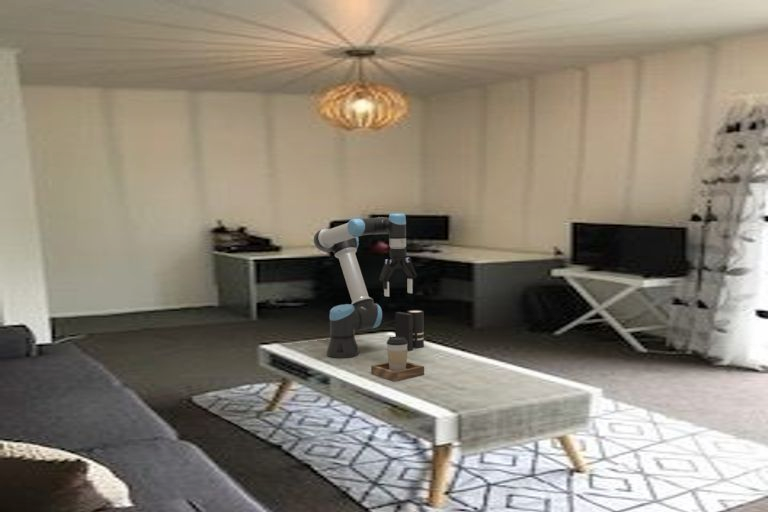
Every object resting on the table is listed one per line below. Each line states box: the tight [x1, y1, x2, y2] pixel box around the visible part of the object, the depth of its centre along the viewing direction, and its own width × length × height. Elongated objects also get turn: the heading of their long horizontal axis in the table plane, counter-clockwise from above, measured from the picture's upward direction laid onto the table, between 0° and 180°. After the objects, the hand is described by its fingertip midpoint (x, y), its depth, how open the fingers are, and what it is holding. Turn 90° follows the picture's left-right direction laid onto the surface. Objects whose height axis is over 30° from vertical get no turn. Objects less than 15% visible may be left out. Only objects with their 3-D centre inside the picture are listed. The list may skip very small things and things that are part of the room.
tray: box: [370, 361, 425, 382], centre depth 295 cm, size 16×16×4 cm
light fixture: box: [394, 309, 425, 352], centre depth 344 cm, size 10×14×18 cm
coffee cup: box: [386, 336, 408, 372], centre depth 294 cm, size 9×9×15 cm
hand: (398, 294), depth 314 cm, fingers open, 13 cm apart
